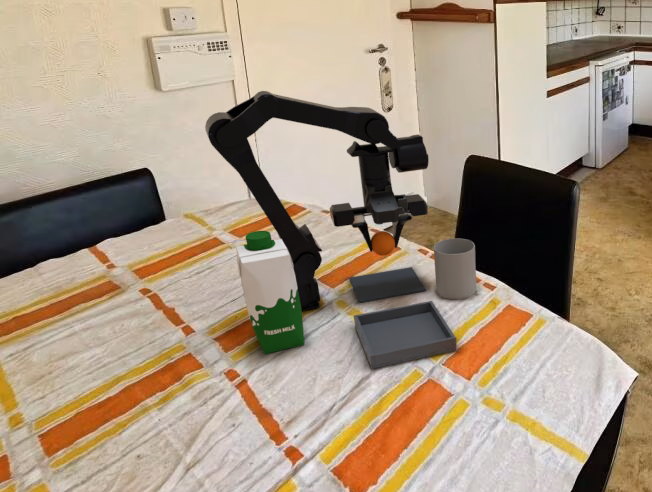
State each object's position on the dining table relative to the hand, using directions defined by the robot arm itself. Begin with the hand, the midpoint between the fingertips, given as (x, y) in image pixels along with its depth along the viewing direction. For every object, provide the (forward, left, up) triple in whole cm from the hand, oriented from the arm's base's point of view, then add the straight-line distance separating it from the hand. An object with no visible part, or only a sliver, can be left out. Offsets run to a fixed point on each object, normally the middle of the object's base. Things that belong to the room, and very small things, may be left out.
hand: (383, 249), depth 129 cm
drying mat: (0, +1, -9) cm, 9 cm away
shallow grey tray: (-2, -23, -9) cm, 24 cm away
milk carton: (-23, -14, -9) cm, 29 cm away
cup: (+13, -7, -9) cm, 17 cm away
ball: (0, 0, +1) cm, 1 cm away
